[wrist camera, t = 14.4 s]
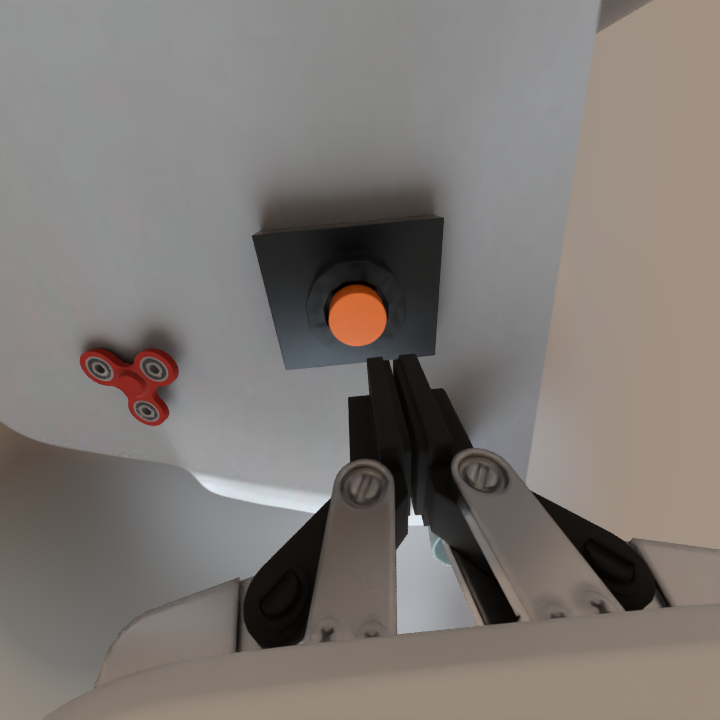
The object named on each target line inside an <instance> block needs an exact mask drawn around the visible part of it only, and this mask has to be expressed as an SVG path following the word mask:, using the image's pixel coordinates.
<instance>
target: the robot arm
mask: <svg viewBox="0 0 720 720" xmlns="http://www.w3.org/2000/svg"><path fill="white" fill-rule="evenodd" d="M367 370H368V383H369V395H366V396H356V397H348V407H349V439H350V462H349V463H348V464H347V465H345V466H344V467H342V469H341V470H340V471H339V473H338V474H337V476H336V479H335V481H334V486H333V491H332V496H331V498H330V499H329V500H328V501H327V502H326V503H325V504H324V505H323V506H322V507H321V508H320V509H319V510H318V512H317V513H316V514H315V515H314V516H313V517H312V518H311V519H310V520H309V521H308V522H307V523H306V524H305V525H304V526H303V527H302V528H301V529H300V530H299V531H298V532H297V533H296V534H295V535H294V536H293V537H292V538H291V539H290V540H289V541H288V542H287V543H286V544H285V545H284V546H283V547H282V548H281V549H280V550H279V551H278V552H277V553H276V554H275V555H274V556H273V557H272V558H271V559H270V560H269V561H268V562H267V563H266V564H265V565H264V566H263V567H262V568H261V569H260V570H259V571H258V573H257V574H256V575H255V576H253V577H250V578H247V579H245V580H242V581H241V580H240V578H236V579H233V580H230V581H228V582H225V583H222V584H219V585H216V586H214V587H211V588H208V589H205V590H203V591H200V592H197V593H194V594H192V595H189V596H186V597H184V598H181V599H178V600H175V601H172V602H170V603H167V604H164V605H161V606H159V607H156V608H153V609H150V610H148V611H146V612H144V613H142V614H141V615H139V616H137V617H135V618H134V619H133V620H132V621H131V622H130V623H129V624H128V625H126V627H124V628H123V629H122V630H121V632H120V633H119V634H118V636H117V637H116V638H115V640H114V641H113V642H112V644H111V645H110V647H109V649H108V651H107V653H106V655H105V658H104V660H103V662H102V664H101V667H100V670H99V673H98V676H97V679H96V682H95V686H94V688H93V689H92V690H90V691H88V692H86V693H84V694H82V695H80V696H78V697H77V698H74V699H72V700H70V701H69V702H67V703H65V704H64V705H62V706H60V707H59V708H57V709H56V710H54V711H52V712H51V713H49V714H48V715H46V716H44V717H43V718H41V719H39V720H720V550H718V549H710V548H703V547H695V546H688V545H681V544H674V543H666V542H659V541H652V540H644V539H637V538H632V539H631V541H630V542H626V541H623V540H622V539H620V538H618V537H617V536H615V535H614V534H612V533H611V532H608V531H607V530H605V529H603V528H601V527H599V526H597V525H595V524H593V523H591V522H590V521H587V520H586V519H584V518H582V517H580V516H578V515H576V514H574V513H572V512H570V511H568V510H567V509H565V508H563V507H561V506H559V505H557V504H555V503H553V502H551V501H549V500H547V499H545V498H544V497H542V496H540V495H538V494H536V493H534V492H532V491H530V490H529V488H528V487H527V486H526V485H525V483H524V482H523V481H522V480H521V478H520V477H519V476H518V474H517V473H516V472H515V471H514V469H513V468H512V467H511V466H510V464H509V463H507V462H506V461H505V460H504V459H503V458H502V457H501V456H499V455H497V454H496V453H494V452H491V451H489V450H486V449H480V448H473V446H472V444H471V442H470V440H469V438H468V436H467V434H466V432H465V430H464V428H463V426H462V424H461V422H460V420H459V418H458V416H457V414H456V412H455V410H454V408H453V406H452V404H451V402H450V400H449V398H448V396H447V394H446V392H445V390H444V389H442V388H439V389H431V388H430V386H429V384H428V381H427V379H426V377H425V374H424V372H423V370H422V368H421V365H420V363H419V361H418V358H417V356H416V354H415V353H413V354H403V355H399V358H398V359H394V360H393V373H392V370H391V366H390V362H389V360H384V361H383V357H372V358H367ZM410 497H411V500H412V504H413V509H414V513H415V515H422V519H423V523H424V526H430V529H431V532H433V533H434V534H435V535H437V536H438V537H440V538H441V539H442V543H443V546H444V549H445V552H446V554H447V556H448V559H449V561H450V563H451V566H452V568H453V570H454V573H455V575H456V577H457V580H458V582H459V584H460V587H461V589H462V592H463V594H464V596H465V598H466V601H467V603H468V605H469V608H470V610H471V613H472V615H473V617H474V619H475V622H476V624H477V626H476V627H466V628H456V629H446V630H436V631H427V632H417V633H407V634H397V590H396V589H397V586H396V550H397V548H398V547H399V545H400V544H401V542H402V541H403V540H404V538H405V537H406V535H407V534H408V516H410Z"/></svg>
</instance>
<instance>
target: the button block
mask: <svg viewBox="0 0 720 720" xmlns="http://www.w3.org/2000/svg"><path fill="white" fill-rule="evenodd" d="M443 225H444V218H443V217H440V216H437V215H424V216H413V217H402V218H391V219H381V220H370V221H359V222H348V223H338V224H327V225H316V226H305V227H295V228H284V229H273V230H262V231H259V232H257V233H256V234H254V235H252V238H253V242H254V246H255V250H256V254H257V258H258V262H259V266H260V270H261V273H262V277H263V281H264V285H265V289H266V293H267V297H268V301H269V305H270V309H271V313H272V317H273V321H274V325H275V329H276V333H277V337H278V341H279V344H280V348H281V352H282V356H283V360H284V364H285V368H286V370H291V369H301V368H311V367H321V366H330V365H340V364H350V363H360V362H367V358H372V357H383V360H390V359H398V358H399V355H403V354H413V353H415V354H416V356H417V357H420V356H430V355H435V344H436V329H437V314H438V299H439V284H440V269H441V255H442V240H443ZM353 284H361V285H365V286H368V287H370V288H372V289H373V290H374V291H376V292H377V294H378V295H379V296H380V298H381V300H382V303H383V305H384V308H385V311H386V315H387V322H386V326H385V329H384V331H383V333H382V334H381V335H380V336H379V337H378V338H377V339H376V340H375V341H373V342H372V343H370V344H367V345H364V346H351V345H347V344H345V343H343V342H341V341H339V340H338V339H337V338H336V337H335V336H334V335H333V333H332V331H331V329H330V326H329V307H330V303H331V300H332V298H333V297H334V295H335V294H336V293H337V292H338V291H339V290H340V289H342V288H343V287H346V286H348V285H353Z"/></svg>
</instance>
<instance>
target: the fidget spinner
mask: <svg viewBox="0 0 720 720" xmlns="http://www.w3.org/2000/svg"><path fill="white" fill-rule="evenodd" d="M80 365H81V367H82V369H83V371H84V372H85V374H86V375H87V376H88V377H89V378H91V379H92V380H93V381H95V382H97V383H99V384H102V385H107V386H114V387H116V388H118V389H120V390H121V391H123V392H124V393H125V395H126V396H127V398H128V401H129V402H128V407H129V410H130V412H131V414H132V415H133V416H134V417H135V418H136V419H137V420H139V421H140V422H142V423H144V424H147V425H151V426H157V425H160V424H161V423H163V422H164V421H165V420H166V419H167V418H168V416H169V409H168V407H167V405H166V404H165V402H164V401H163V400H162V399H161V398H160V397H159V395H158V393H157V387H158V386H167V385H169V384H171V383H172V382H173V381H174V380H175V379H176V378H177V377H178V373H179V370H178V366H177V364H176V362H175V361H174V359H173V358H172V357H171V356H170V355H169V354H167V353H166V352H164V351H162V350H159V349H155V348H149V349H146V350H144V351H142V352H140V353H139V354H137V356H136V357H135V360H134V364H127V363H124V362H122V361H121V360H119V359H118V358H117V357H116V356H115V355H114V354H112V353H111V352H109V351H107V350H104V349H100V348H95V349H91V350H89V351H87V352H85V353H83V354H82V355H81V357H80ZM154 365H155V366H157V367H158V368H159V370H158V369H156V368H155V366H154ZM149 409H150V410H149Z"/></svg>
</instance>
